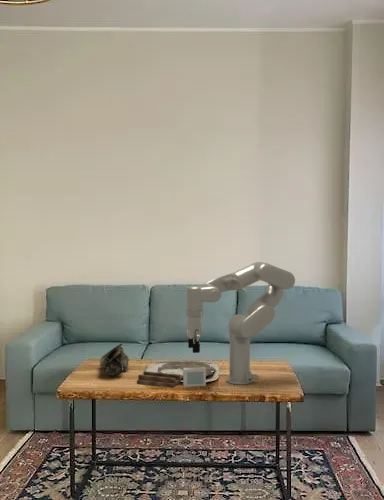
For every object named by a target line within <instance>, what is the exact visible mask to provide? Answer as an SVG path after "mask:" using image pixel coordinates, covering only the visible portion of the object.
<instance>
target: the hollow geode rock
mask: <svg viewBox="0 0 384 500" xmlns="http://www.w3.org/2000/svg"><path fill="white" fill-rule="evenodd" d="M122 346H123V343H120V344H117V345H116V346H115V347H113V348H111V349H110V350H109V351H108V352H106V353H105V354H104V355H102V356H101V358H100V360H99V367H104V373H105V374H106V375H107V376H110V377H112V378H116V377H118V376H119V375H120V374H122V372H123V371H127V370H128V367H129V365H130V364H129V360H130V359H129V357H128V355H127V354H126V353H124V351H125V350H124V348H123V347H122Z"/></svg>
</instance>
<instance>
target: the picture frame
mask: <svg viewBox="0 0 384 500" xmlns="http://www.w3.org/2000/svg"><path fill="white" fill-rule="evenodd" d="M182 375H183V378H182V385H183V387H184V388H189V387H190V388H192V387H206V386H207V378H206V377H207V376H206V368H205V367H196V368H183V369H182Z"/></svg>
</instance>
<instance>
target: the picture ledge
mask: <svg viewBox="0 0 384 500" xmlns="http://www.w3.org/2000/svg"><path fill="white" fill-rule="evenodd" d="M180 375H181V374H179V373H178V374H176V373H167V372H166V373H165V372H162V373H159V372H157V371H155V372H154V371H147V370H146V371H145V370H144V371H143V373H142V374H138V377H137V380H136V384H137V385H146V386H153V387H154V386H155V387H165V388H175V387H176V386H177V385H179V384H180V383H181V382H182V378H180ZM180 379H181V380H180Z"/></svg>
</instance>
